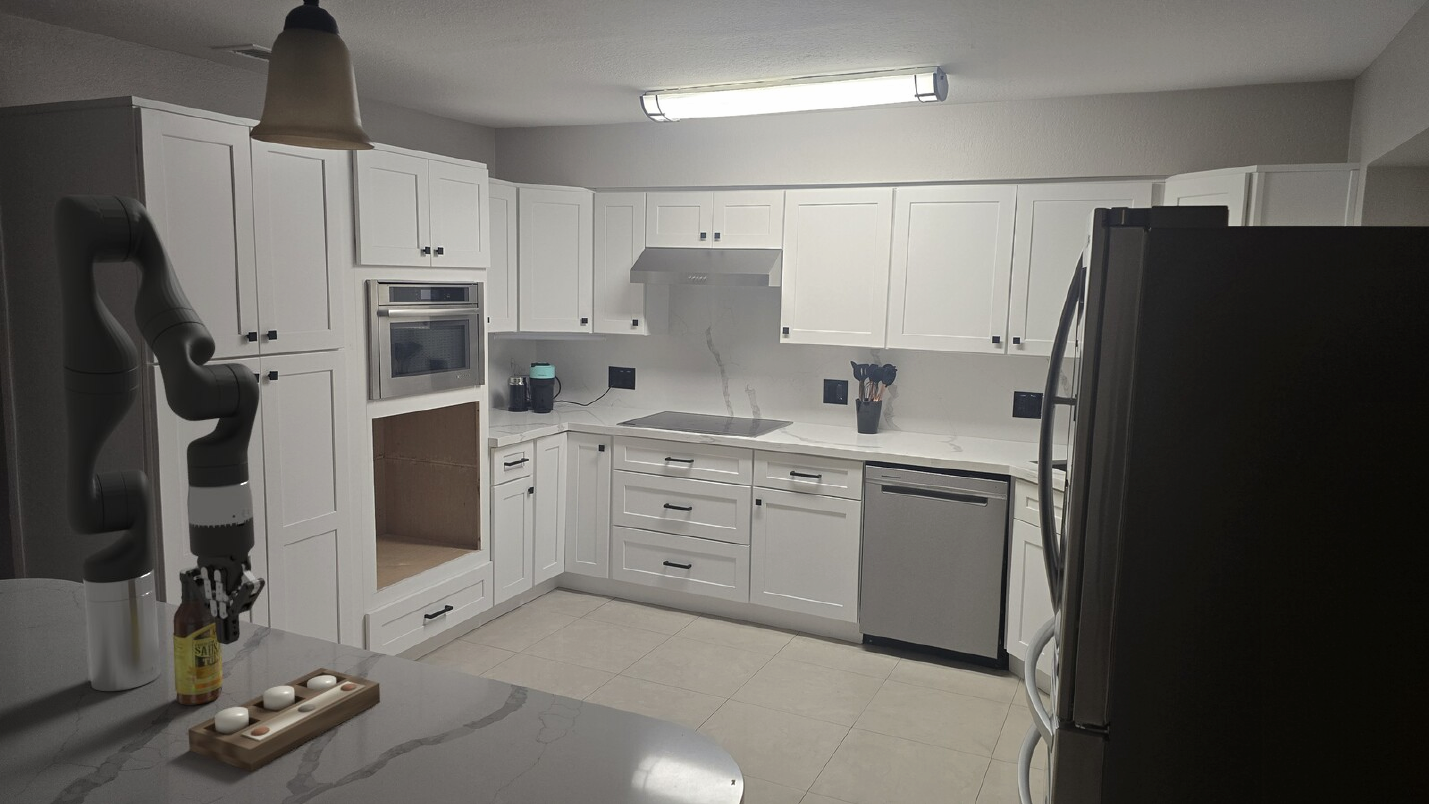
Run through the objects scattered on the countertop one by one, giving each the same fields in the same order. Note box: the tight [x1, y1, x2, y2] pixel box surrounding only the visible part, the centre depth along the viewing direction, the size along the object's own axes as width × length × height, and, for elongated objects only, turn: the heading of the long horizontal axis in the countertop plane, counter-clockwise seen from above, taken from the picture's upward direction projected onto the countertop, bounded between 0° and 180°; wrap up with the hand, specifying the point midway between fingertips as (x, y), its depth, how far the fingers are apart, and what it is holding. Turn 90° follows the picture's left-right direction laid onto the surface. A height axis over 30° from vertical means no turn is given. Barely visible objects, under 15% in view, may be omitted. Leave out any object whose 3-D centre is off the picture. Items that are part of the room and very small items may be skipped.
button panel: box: [187, 667, 381, 772], centre depth 130 cm, size 12×22×3 cm, turn 155°
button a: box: [307, 675, 336, 691], centre depth 138 cm, size 4×4×2 cm
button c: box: [214, 706, 249, 735], centre depth 124 cm, size 4×4×2 cm
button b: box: [262, 685, 295, 712], centre depth 131 cm, size 4×4×2 cm
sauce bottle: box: [172, 566, 224, 706], centre depth 137 cm, size 7×6×20 cm
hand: (228, 641), depth 123 cm, fingers closed
